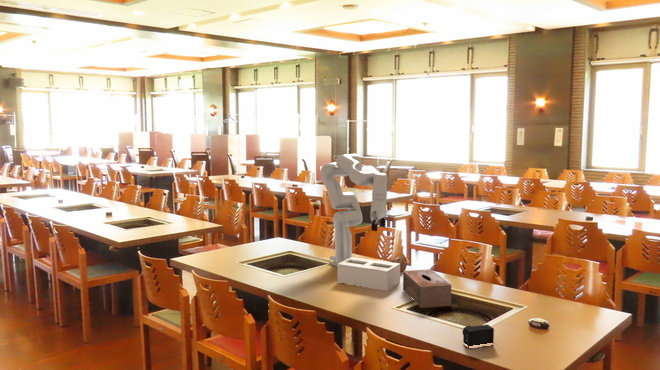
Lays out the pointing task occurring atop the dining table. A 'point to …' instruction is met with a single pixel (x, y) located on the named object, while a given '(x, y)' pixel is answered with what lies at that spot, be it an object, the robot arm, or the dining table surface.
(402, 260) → the tin
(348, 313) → the dining table surface
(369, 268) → the white rectangular block
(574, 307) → the dining table surface
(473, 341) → the digital camera
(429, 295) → the tissue box cover
